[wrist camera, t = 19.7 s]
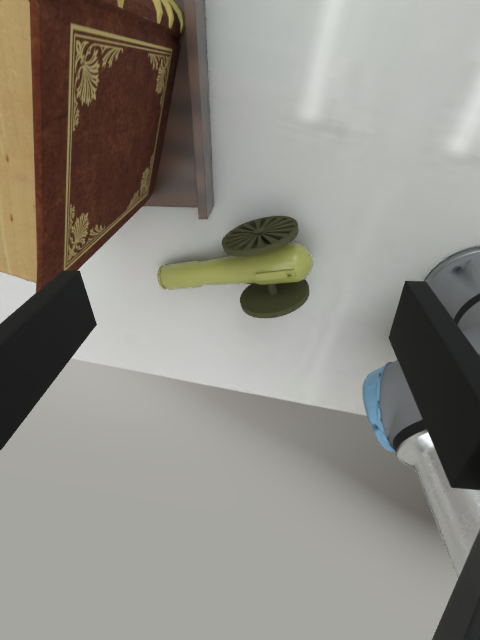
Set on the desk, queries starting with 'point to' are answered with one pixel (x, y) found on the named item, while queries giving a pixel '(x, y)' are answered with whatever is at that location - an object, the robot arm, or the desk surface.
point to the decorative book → (79, 124)
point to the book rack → (188, 123)
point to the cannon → (253, 267)
